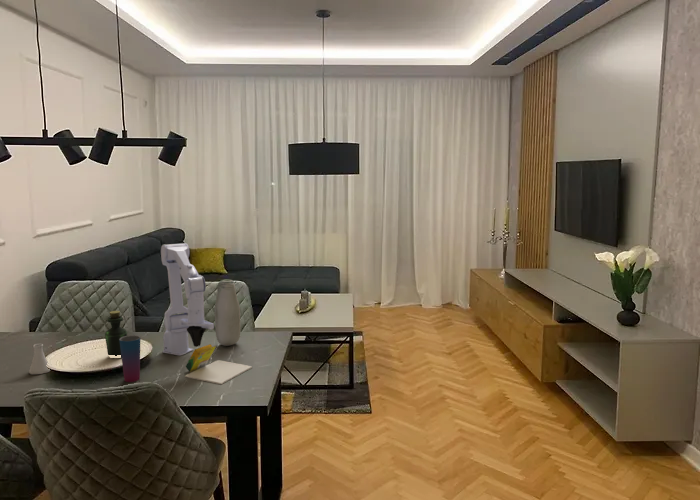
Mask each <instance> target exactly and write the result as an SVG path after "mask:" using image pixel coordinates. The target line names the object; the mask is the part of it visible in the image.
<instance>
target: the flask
mask: <svg viewBox="0 0 700 500" xmlns="http://www.w3.org/2000/svg"><path fill="white" fill-rule="evenodd" d="M32 347H33V356H32V361H31V364H30V366H29V370H28V374H30V375H42V374H46V373H49V372H50V371H51V370H50V369H48V368H47V366H46V365H47V363H48V364H49V362H48V360H47V357H46V356H45V353H44V349H43V347H44V344H43V343H35V344H33V345H32Z"/></svg>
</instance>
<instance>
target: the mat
mask: <svg viewBox="0 0 700 500" xmlns="http://www.w3.org/2000/svg"><path fill="white" fill-rule="evenodd" d="M252 368H253V366H251V365H246V364H243V363H242V364H241V363H237V362H236V363H235V362H230V361H225V360H219V359H217V360H215V361H213V362H210V363H209V364H208V363H207V364H206V365H205V366H204V367H202V368H199V369H197V370H194V371H191V372H189V373H187V374H185V375H184V378H189V379H193V380H198V381H202V382H208V383H213V384H217V385H223V384H225V383H228V382H229V381H231V380H233V379H234V378H236V377H238V376H239V375H241V374H243V373H245V372H247V371H249V370H251V369H252Z"/></svg>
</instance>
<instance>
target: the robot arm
mask: <svg viewBox="0 0 700 500" xmlns="http://www.w3.org/2000/svg"><path fill="white" fill-rule="evenodd" d="M160 255H161V258H160V259H161V263H162V266H165V267H166V269H167V276H168V288H169V290H168V291H169V299H170V307H169V308H168V309H167V310H166V311H165V312H164V315H163V316H164V318H163V319H164V320H163V323H164V324H163V325H164V328H165V331H164V333H163V337H162V338H163V340H162V341H163V350H162V353H163V354H169V355H175V356H183V355H185V354H188V353H190V352H193V351H194V348H190V347H189V345H190V344H189V336H190V339H191V340H192V344H193V346H194V347H196V348H197V347H198V348H199V347H200V346H201V344H202V339H203V336H204V334H205V331H206V330H213V329H215V323H213V322H210V321H207V320H205V304H204V301H205V300H204V297H205V295H204V293H205V292H206V287H207V286H206V285H207V283H206V280H205V277H204V276H203V275H201V274H199V272H198V270H197V269H196V267H195V266H194V264H191V263H190V259H189V257H190V246H189V244H188V243H187V242H183V243H171V244H166V243H165V244H162V245H161V247H160ZM182 280H183V282H184V291H185V297H186V300H187V301H186V302H187V307H186V306H184V299H183V298H184V297H183V288H182V287H183V286H182Z"/></svg>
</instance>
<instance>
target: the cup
mask: <svg viewBox="0 0 700 500" xmlns="http://www.w3.org/2000/svg"><path fill="white" fill-rule="evenodd" d="M119 341H120V349H121V357H122V358H121V363H122V373H123V381H124V382H127V383H134V382H137V381H139V380H140V378H141V377H140V376H141V336H140V335H135V334H133V335H127V336H124V337H121V338H120V339H119Z"/></svg>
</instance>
